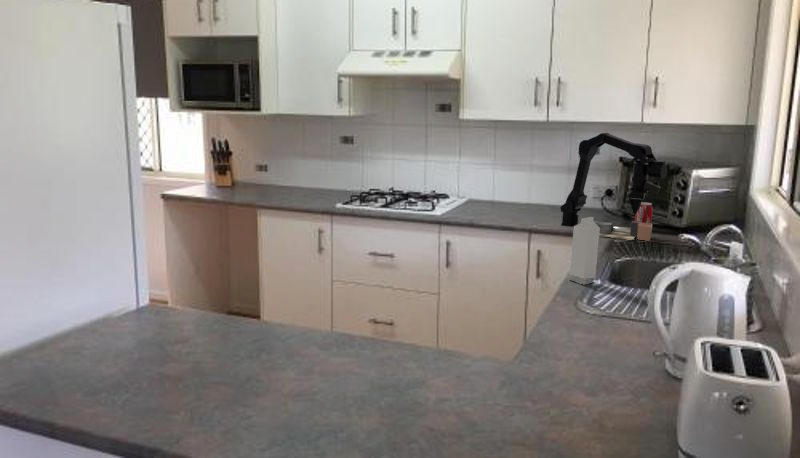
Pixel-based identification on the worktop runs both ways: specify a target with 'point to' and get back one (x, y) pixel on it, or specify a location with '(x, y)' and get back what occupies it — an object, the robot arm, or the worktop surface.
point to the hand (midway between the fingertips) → (636, 212)
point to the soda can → (644, 213)
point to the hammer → (627, 229)
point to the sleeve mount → (606, 232)
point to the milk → (585, 249)
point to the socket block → (644, 231)
